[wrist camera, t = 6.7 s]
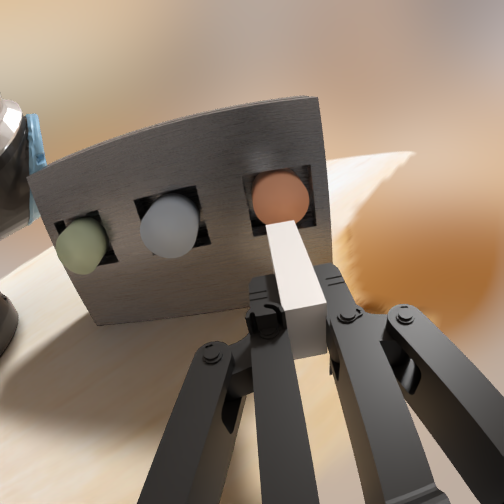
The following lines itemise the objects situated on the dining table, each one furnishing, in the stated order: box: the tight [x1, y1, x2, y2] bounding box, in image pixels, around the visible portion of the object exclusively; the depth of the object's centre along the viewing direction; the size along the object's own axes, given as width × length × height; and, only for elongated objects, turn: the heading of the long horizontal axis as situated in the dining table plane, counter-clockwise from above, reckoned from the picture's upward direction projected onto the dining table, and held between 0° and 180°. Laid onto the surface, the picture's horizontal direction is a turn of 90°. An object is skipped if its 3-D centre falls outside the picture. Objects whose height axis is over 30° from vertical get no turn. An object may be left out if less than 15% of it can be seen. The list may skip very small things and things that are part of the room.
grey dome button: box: [140, 193, 200, 258], centre depth 21 cm, size 4×2×4 cm, turn 93°
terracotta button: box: [251, 168, 309, 225], centre depth 22 cm, size 4×2×4 cm, turn 93°
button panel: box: [26, 96, 333, 326], centre depth 24 cm, size 23×5×16 cm, turn 93°
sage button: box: [56, 216, 109, 275], centre depth 21 cm, size 4×2×4 cm, turn 93°
